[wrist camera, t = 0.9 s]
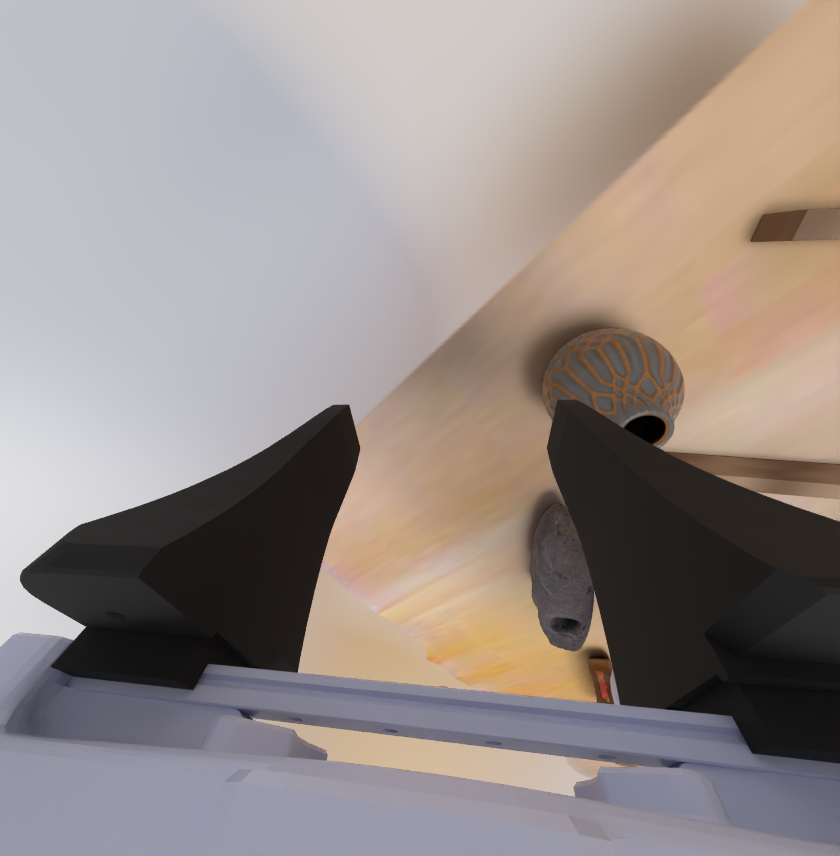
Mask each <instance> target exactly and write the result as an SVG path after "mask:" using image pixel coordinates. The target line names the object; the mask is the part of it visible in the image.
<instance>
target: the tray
mask: <svg viewBox="0 0 840 856" xmlns="http://www.w3.org/2000/svg"><path fill="white" fill-rule="evenodd" d="M837 239H840V208H830V209H807V210H799V211H791V212H783V213H775V214H767V215H763V217H762V220H761V222H760V224H759V226H758V228H757V230H756V232H755V235H754V237H753V239H752V241H751V242H764V241H801V240H837ZM666 453H668V454H670V455H672V456H674V457H676V458H678V459H680V460H682V461H685V462H687V463H689V464H691V465H693V466H695V467H697V468H699V469H702V470H704V471H706V472H708V473H710V474H713V475H715V476H717V477H720V478H722V479H724V480H727V481H729V482H732V483H734V484H737V485H739V486H742V487H744V488H747V489H749V490H752V491H754V492H761V493H773V494H784V495H796V496H807V497H818V498H830V499H840V465H837V464H823V463H809V462H795V461H781V460H768V459H754V458H740V457H726V456H712V455H699V454H685V453H671V452H666Z"/></svg>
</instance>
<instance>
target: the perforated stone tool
mask: <svg viewBox="0 0 840 856" xmlns="http://www.w3.org/2000/svg"><path fill="white" fill-rule="evenodd" d="M531 576H532V598H533V601H534V604H535V606H536V607H537V609H538V618H539V620H540V625H541V627H542V629H543V632H544V633H545V635H546V636H547V638H548V639H549V642H550V643H551V644H552V645H554V646H556V647H559V648H563V649H565V650H571V651H577V650H579V649H581V647H582V645H583V644H584V642H585V639H586V637H587V635H588V632H589V628H590V624H591V619H592V612H593V602H594V587H593V583H592V579H591V576H590V572H589V569H588V565H587V562H586V558H585V555H584V551H583V548H582V544H581V541H580V539H579V536H578V533H577V530H576V528H575V525H574V523H573V521H572V518H571V516H570V513H569V511H568V509H567V508H566V507H564V506H563V505H561V504H559V503H558V504H554V505H552V506H550V507H549V508H548V509H547V510H546V511H545V513H544V514H543V516H542V517H541V519H540V521H539V523H538V526H537V528H536V532H535V536H534V541H533V548H532V559H531Z"/></svg>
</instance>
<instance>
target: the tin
mask: <svg viewBox="0 0 840 856" xmlns="http://www.w3.org/2000/svg"><path fill="white" fill-rule="evenodd" d="M589 668H590V672H591V675H592V677H593V681H594V685H595V690H596V696H597V703H605V704H614V700H613V696H612V692H611V685H610V677H611V674H612V665H611V661H610V659H609V658H608V659H598V658H591V659H589ZM616 764H618V765H621V766H626V767H637V765H630V764H622V763H616Z"/></svg>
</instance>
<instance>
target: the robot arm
mask: <svg viewBox="0 0 840 856" xmlns="http://www.w3.org/2000/svg"><path fill="white" fill-rule="evenodd" d="M547 450H548V454H549V459H550V463H551V467H552V471H553V474H554V477H555V479H556V482H557V484H558V487H559V489H560V491H561V494H562V496H563V499H564V501H565V504H566V506H567V508H568V511H569V513H570V516H571V518H572V521H573V523H574V525H575V528H576V530H577V533H578V536H579V539H580V541H581V544H582V548H583V551H584V555H585V558H586V562H587V565H588V569H589V572H590V576H591V579H592V583H593V587H594V591H595V595H596V598H597V602H598V606H599V610H600V614H601V619H602V623H603V627H604V631H605V636H606V640H607V644H608V648H609V653H610V658H611V663H612V674H611V677H610V685H611V692H612V696H613V700H614V704H605V703H595V702H585V701H575V700H565V699H555V698H545V697H535V696H525V695H515V694H505V693H495V692H485V691H475V690H465V689H454V688H445V687H435V686H424V685H414V684H404V683H394V682H385V681H384V682H383V681H374V680H364V679H353V678H343V677H334V676H324V675H314V674H304V673H298V667H299V662H300V656H301V651H302V646H303V641H304V636H305V631H306V626H307V621H308V617H309V613H310V608H311V604H312V600H313V595H314V591H315V587H316V583H317V579H318V575H319V571H320V568H321V564H322V560H323V557H324V553H325V550H326V546H327V543H328V539H329V536H330V533H331V530H332V527H333V524H334V522H335V519H336V517H337V514H338V512H339V509H340V507H341V505H342V502H343V500H344V497H345V495H346V492H347V490H348V487H349V485H350V482H351V480H352V477H353V475H354V472H355V469H356V465H357V461H358V457H359V452H360V445H359V441H358V437H357V433H356V429H355V426H354V422H353V418H352V414H351V410H350V406H349V405H332V406H331V407H329V408H327V409H325V410H324V411H322V412H321V413H319V414H318V415H316V416H315V417H313V418H312V419H310V420H309V421H308V422H306V423H305V424H303V425H302V426H300V427H299V428H297V429H296V430H294V431H293V432H292V433H290V434H289V435H287V436H285V437H284V438H282V439H281V440H279V441H278V442H276V443H274V444H273V445H271V446H270V447H268V448H267V449H265V450H263V451H262V452H260V453H258V454H256V455H255V456H253V457H251V458H249V459H247V460H245V461H244V462H242V463H240V464H238V465H236V466H234V467H232V468H230V469H228V470H226V471H224V472H222V473H219V474H217V475H215V476H213V477H211V478H208V479H206V480H204V481H202V482H200V483H197V484H195V485H193V486H191V487H188V488H186V489H183V490H181V491H178V492H176V493H173V494H171V495H168V496H165V497H163V498H160V499H157V500H155V501H152V502H149V503H146V504H143V505H141V506H138V507H135V508H132V509H128V510H125V511H122V512H119V513H116V514H113V515H110V516H107V517H104V518H100V519H97V520H94V521H91V522H88V523H84V524H81V525H79V526H78V527H76V528H74V529H73V530H72V531H70V532H69V533H68V534H66V535H65V536H64V537H63V538H62V539H60V540H59V541H58V542H57V543H55V544H54V545H53V546H52V547H51V548H49V549H48V550H47V551H46V552H45V553H43V554H42V555H41V556H40V557H38V558H37V559H36V560H35V561H34V562H32V563H31V564H30V565H29V566H27V567H26V568H25V569H24V570H23V571H22V573H21V575H20V581H21V583H22V585H23V587H24V588H25V589H26V590H27V591H28V592H29V593H30V594H31V595H33V596H34V597H36V598H38V599H39V600H41V601H42V602H44V603H46V604H47V605H49V606H51V607H53V608H54V609H56V610H58V611H59V612H61V613H63V614H65V615H67V616H68V617H70V618H72V619H73V620H75V621H77V622H79V623H80V624H82V625H84V626H87V627H86V628H85V629H84V630H83V631H82V632H81V633H80V634H79V636H78V637H77V638H76V639H75V640H74V641H73V640H70V639H67V638H63V637H58V636H51V635H40V634H39V635H38V634H29V633H18V634H15V635H13V636H12V637H11V638H10V639H8V640H7V641H6V643H4V644H3V645H2V646H1V647H0V856H840V522H839V521H836V520H833V519H830V518H827V517H824V516H821V515H818V514H815V513H812V512H809V511H806V510H803V509H800V508H797V507H794V506H792V505H789V504H786V503H783V502H781V501H778V500H775V499H772V498H770V497H767V496H764V495H762V494H759V493H757V492H754V491H752V490H749V489H747V488H744V487H742V486H739V485H737V484H734V483H732V482H729V481H727V480H724V479H722V478H720V477H717V476H715V475H713V474H710V473H708V472H706V471H704V470H702V469H699V468H697V467H695V466H693V465H691V464H689V463H687V462H685V461H682V460H680V459H678V458H676V457H674V456H672V455H670V454H668V453H666V452H665V451H663V450H661V449H659V448H657V447H655V446H654V445H652V444H650V443H648V442H646V441H645V440H643V439H641V438H639V437H638V436H636V435H634V434H633V433H631V432H629V431H628V430H626V429H624V428H623V427H621V426H619V425H618V424H616V423H615V422H613V421H611V420H610V419H608V418H607V417H605V416H604V415H602V414H600V413H599V412H597V411H596V410H594V409H592V408H591V407H589V406H588V405H586V404H584V403H582V402H581V401H579V400H557V403H556V408H555V413H554V417H553V422H552V427H551V431H550V436H549V441H548V445H547ZM252 718H256V719H265V720H273V721H281V722H289V723H298V724H305V725H313V726H321V727H330V728H338V729H346V730H354V731H362V732H371V733H378V734H387V735H394V736H403V737H411V738H419V739H427V740H435V741H443V742H451V743H460V744H467V745H477V746H484V747H492V748H500V749H508V750H516V751H525V752H532V753H541V754H549V755H557V756H565V757H573V758H581V759H589V760H597V761H605V762H614V763H622V764H630V765H638V766H641V767H600V769H599V771H598V773H597V775H598V776H597V777H595V778H594V779H591V780H586V781H581V782H577V783H576V784H575V786H574V792H575V797H572V796H567V795H561V794H555V793H550V792H544V791H537V790H533V789H527V788H521V787H515V786H509V785H504V784H497V783H490V782H484V781H478V780H472V779H465V778H459V777H452V776H446V775H438V774H431V773H423V772H416V771H409V770H402V769H395V768H387V767H378V766H369V765H361V764H353V763H345V762H334V761H326V760H327V752H326V750H324V749H322V748H319V747H317V746H314V745H312V744H309V743H308V742H306V741H305V740H303V739H301V738H300V737H298V735H297V734H296V732H295V731H294V730H292V729H288V728H284V727H280V726H276V725H271V724H267V723H263V722H258V721H254V720H253V719H252Z"/></svg>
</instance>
